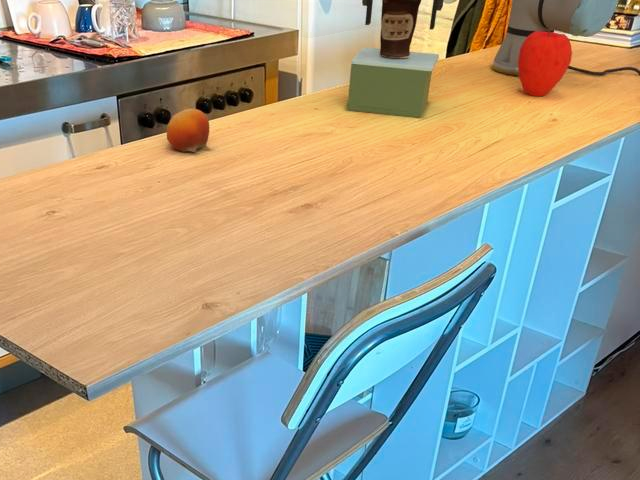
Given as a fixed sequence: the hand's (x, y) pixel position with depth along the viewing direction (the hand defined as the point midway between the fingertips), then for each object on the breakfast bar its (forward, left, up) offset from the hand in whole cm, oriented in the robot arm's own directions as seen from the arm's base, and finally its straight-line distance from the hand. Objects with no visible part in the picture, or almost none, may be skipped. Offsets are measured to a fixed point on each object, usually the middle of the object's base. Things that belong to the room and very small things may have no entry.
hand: (399, 26), depth 172 cm
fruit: (+31, +47, -16) cm, 59 cm away
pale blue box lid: (0, +1, -6) cm, 6 cm away
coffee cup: (0, +1, -6) cm, 6 cm away
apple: (-32, -24, -16) cm, 43 cm away
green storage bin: (0, +1, -15) cm, 15 cm away
